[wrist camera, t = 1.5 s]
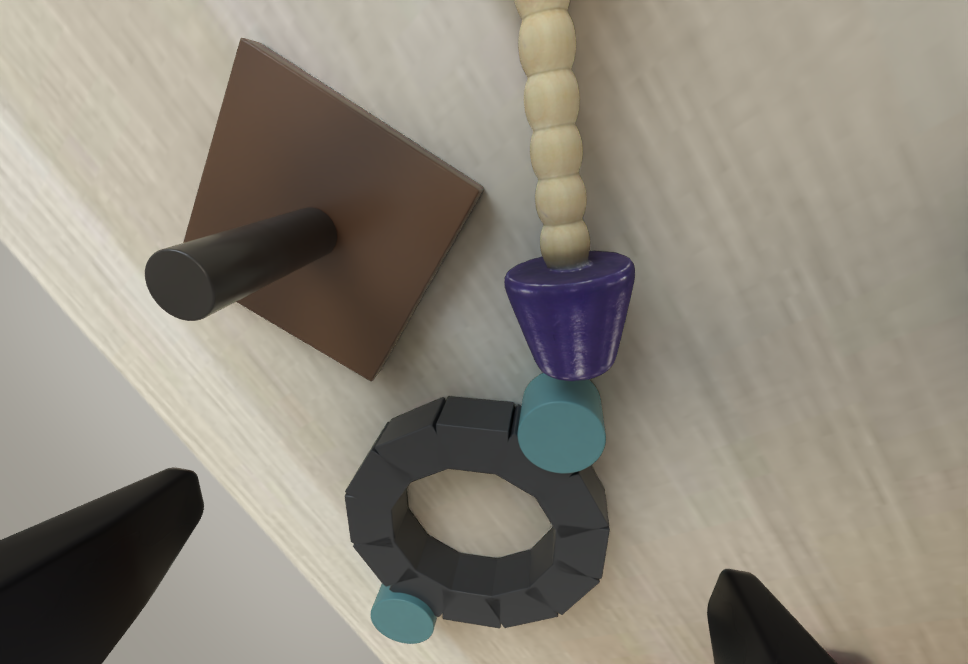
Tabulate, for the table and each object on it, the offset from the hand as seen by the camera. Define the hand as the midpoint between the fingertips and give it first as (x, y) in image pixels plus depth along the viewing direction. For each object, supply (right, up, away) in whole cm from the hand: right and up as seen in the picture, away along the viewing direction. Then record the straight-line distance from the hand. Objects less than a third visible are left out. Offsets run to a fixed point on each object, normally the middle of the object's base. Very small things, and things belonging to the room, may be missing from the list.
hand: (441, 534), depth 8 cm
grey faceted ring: (0, -6, +17) cm, 18 cm away
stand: (-6, +8, +12) cm, 16 cm away
